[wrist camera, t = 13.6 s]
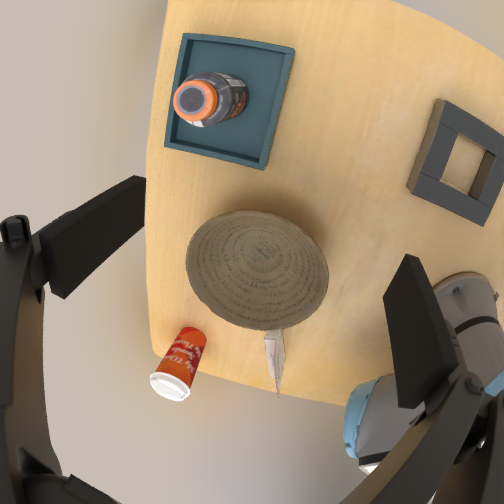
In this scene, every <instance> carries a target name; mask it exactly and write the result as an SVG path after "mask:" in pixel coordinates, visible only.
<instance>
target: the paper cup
mask: <svg viewBox="0 0 504 504" xmlns="http://www.w3.org/2000/svg"><path fill="white" fill-rule="evenodd" d="M205 344H206V337H205V335H204V334H203V333H202V332H201V331H199V330H198V329H196V328H192V327H185V328H183V329H182V330H181V332H180V333H179V335H178V336H177V338H176V339H175V341H174V342H173V344H172V345H171V347H170V349H169V350H168V352H167V353H166V355H165V357H164V358H163V360H162V361H161V363H160V365H159V366H158V368H157V370H156V371H155V372H154V373H152V374H151V375H150V383H151V386H152V388H153V389H154V390H155V391H156V392H157V393H158V394H160V395H161V396H163V397H165V398H167V399H170V400H174V401H182V400H184V399H185V398H186V397H187V396H189V395H190V387H191V384H192V381H193V379H194V376H195V373H196V370H197V367H198V364H199V361H200V359H201V356H202V353H203V350H204V347H205Z"/></svg>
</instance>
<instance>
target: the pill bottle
mask: <svg viewBox="0 0 504 504" xmlns="http://www.w3.org/2000/svg"><path fill="white" fill-rule="evenodd" d="M249 96H250V95H249V90H248V87H247V85H246V84H245V83H244V81H243V80H241V79H240V78H239V77H237V76H234V75H229V74H223V73H216V72H199V73H195V74H193V75H191V76H189V77H188V78H187V79H186V80H185V81H184V82H183V83H182V84H181V86H180V87H179V88H178V89H177V90H176V92H175V94H174V98H173V105H174V109H175V111H176V113H177V114H178V115H179V116H180V117H181V118H183V119H184V120H186V121H187V122H188V123H190V124H192V125H195V126H198V127H209V126H213V125H216V124H219V123H221V122H224V121H227V120H229V119H232V118H235V117H237V116H239V115H240V114H242V113H243V112H244V111H245V109H246V108H247V106H248V103H249Z"/></svg>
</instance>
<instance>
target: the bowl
mask: <svg viewBox="0 0 504 504" xmlns="http://www.w3.org/2000/svg"><path fill="white" fill-rule="evenodd" d="M186 271H187V275H188V278H189V281H190V284H191V287H192V288H193V290H194V292H195V293H196V295H197V296H198V298H199V299H200V300H201V301H202V302H203V303H204V304H206V305H207V306H208V307H209V308H210V310H211V311H212V312H214V313H215V314H216V315H218V316H219V317H221V318H223V319H225V320H226V321H228V322H230V323H232V324H234V325H237V326H240V327H243V328H248V329H253V330H260V331H272V330H279V329H284V328H288V327H291V326H294V325H296V324H298V323H300V322H302V321H303V320H305V319H307V318H308V317H309V316H311V315H312V314H313V313H314V312H315V311H316V310H317V309H318V307H319V306H320V305H321V303H322V301H323V299H324V297H325V295H326V292H327V288H328V281H329V272H328V267H327V263H326V260H325V258H324V255H323V253H322V251H321V249H320V248H319V246H318V245H317V243H316V242H315V241H314V240H313V239H312V237H311V236H310V235H309V234H308V233H307V232H306V231H304V230H303V229H302V228H301V227H299V226H298V225H296V224H295V223H293V222H291V221H289V220H287V219H285V218H283V217H280V216H278V215H275V214H272V213H268V212H262V211H255V210H239V211H233V212H228V213H224V214H221V215H218V216H216V217H214V218H212V219H210V220H209V221H207V222H206V223H205V224H203V225H202V226H201V227H200V228H199V229H198V230H197V231H196V233H195V234H194V235H193V237H192V239H191V241H190V243H189V246H188V249H187V254H186Z"/></svg>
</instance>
